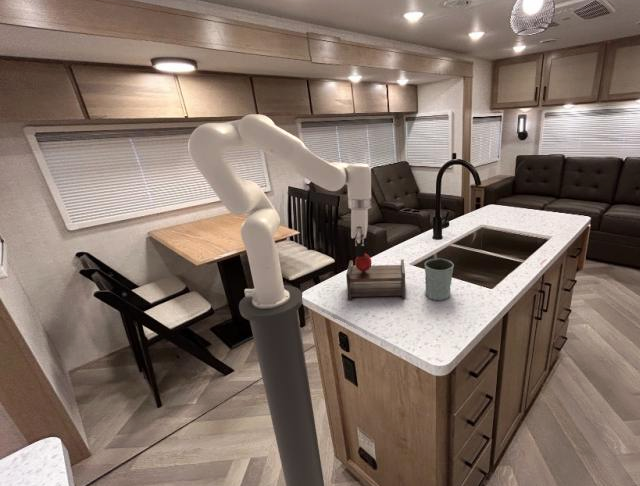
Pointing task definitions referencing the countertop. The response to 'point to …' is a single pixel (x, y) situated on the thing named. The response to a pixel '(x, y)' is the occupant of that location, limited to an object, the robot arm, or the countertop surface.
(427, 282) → the green cup
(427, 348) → the countertop surface
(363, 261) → the onion
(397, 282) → the wooden crate
